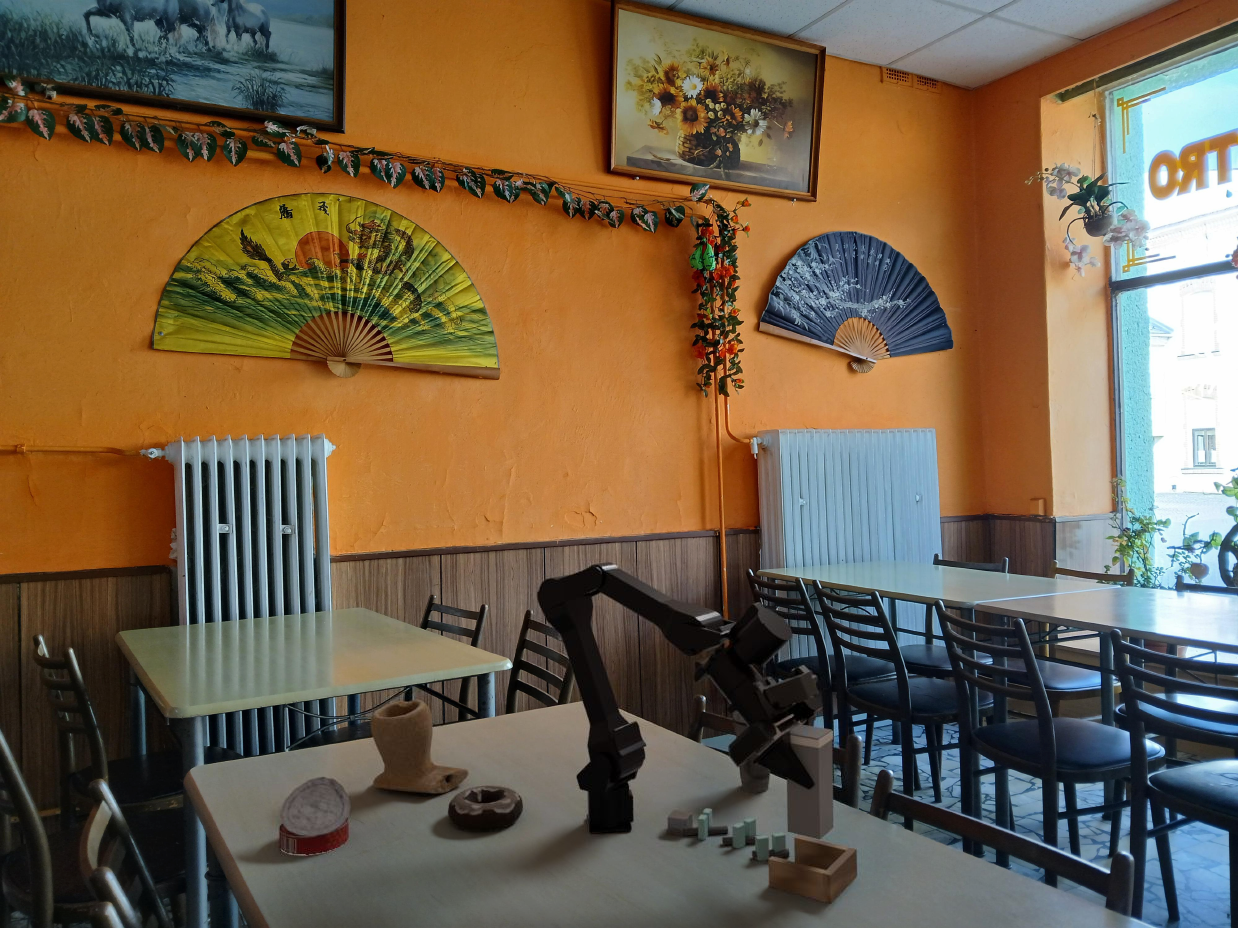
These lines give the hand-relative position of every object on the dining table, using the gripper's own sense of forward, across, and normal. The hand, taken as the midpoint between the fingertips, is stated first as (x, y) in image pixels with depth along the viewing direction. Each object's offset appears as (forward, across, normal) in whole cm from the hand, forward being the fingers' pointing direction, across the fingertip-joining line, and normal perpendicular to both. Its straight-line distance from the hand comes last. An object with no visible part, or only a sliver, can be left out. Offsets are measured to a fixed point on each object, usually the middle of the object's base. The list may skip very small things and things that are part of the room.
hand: (819, 781), depth 117 cm
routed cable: (-1, +4, +20) cm, 20 cm away
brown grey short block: (-8, +4, +26) cm, 28 cm away
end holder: (+8, 0, +10) cm, 13 cm away
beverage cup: (-6, +26, +26) cm, 37 cm away
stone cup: (-41, -6, +61) cm, 73 cm away
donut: (-27, -8, +47) cm, 55 cm away
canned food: (-38, -28, +58) cm, 75 cm away
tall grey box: (+4, 0, +6) cm, 7 cm away
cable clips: (-1, +5, +20) cm, 20 cm away
